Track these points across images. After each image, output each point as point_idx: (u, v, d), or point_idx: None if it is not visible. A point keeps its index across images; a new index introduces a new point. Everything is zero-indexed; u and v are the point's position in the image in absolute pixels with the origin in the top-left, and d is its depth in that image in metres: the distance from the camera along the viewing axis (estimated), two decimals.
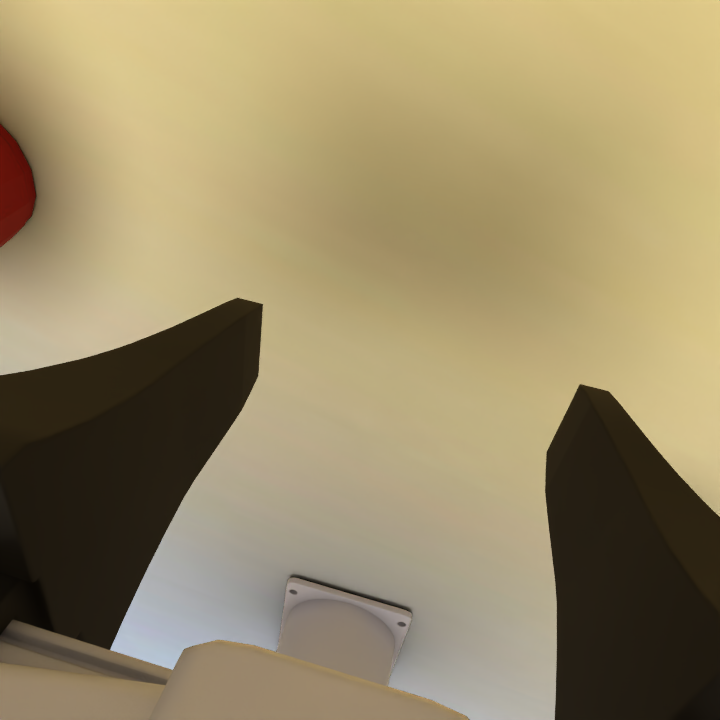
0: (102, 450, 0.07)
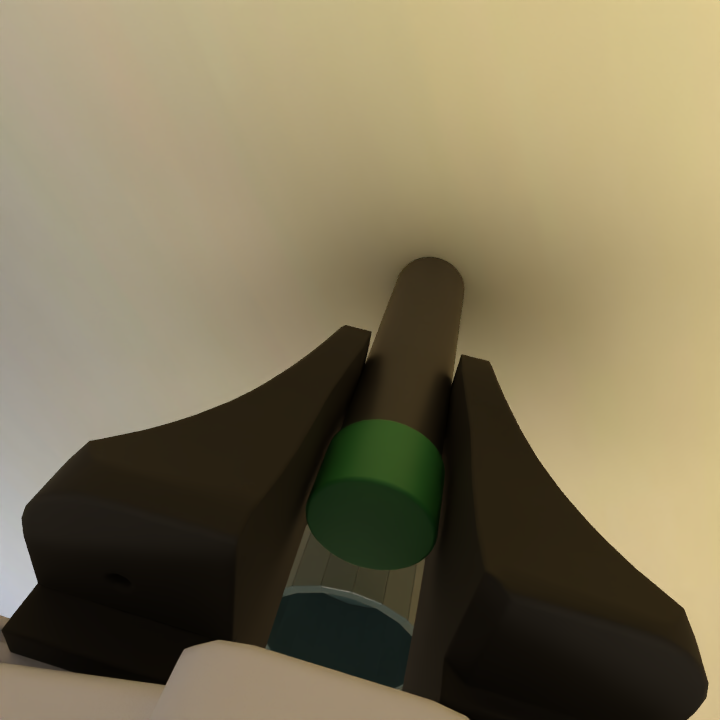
0: (280, 501, 0.07)
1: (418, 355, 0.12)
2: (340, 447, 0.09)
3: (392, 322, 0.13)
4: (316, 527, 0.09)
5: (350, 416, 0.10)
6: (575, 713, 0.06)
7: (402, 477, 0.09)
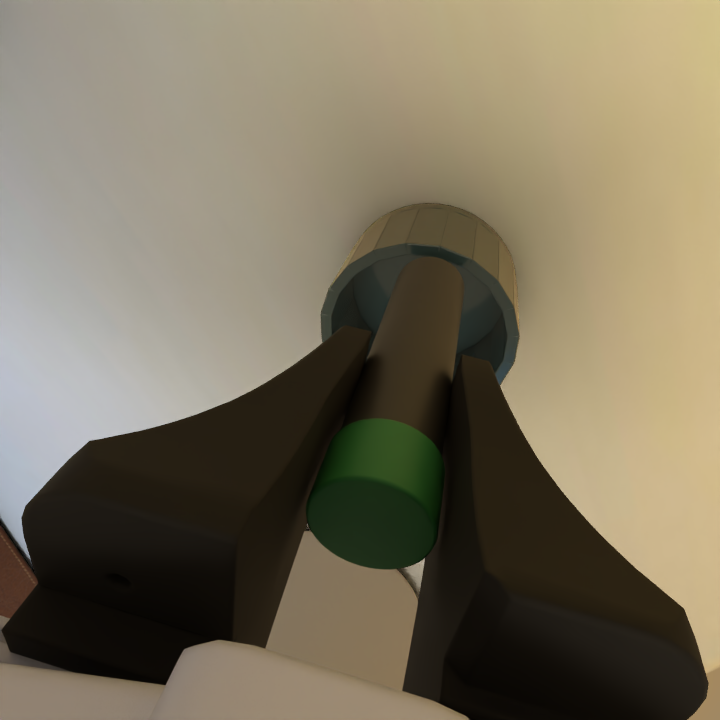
0: (280, 502, 0.07)
1: (419, 354, 0.12)
2: (340, 446, 0.09)
3: (392, 322, 0.13)
4: (316, 526, 0.09)
5: (350, 415, 0.10)
6: (575, 713, 0.06)
7: (402, 476, 0.09)
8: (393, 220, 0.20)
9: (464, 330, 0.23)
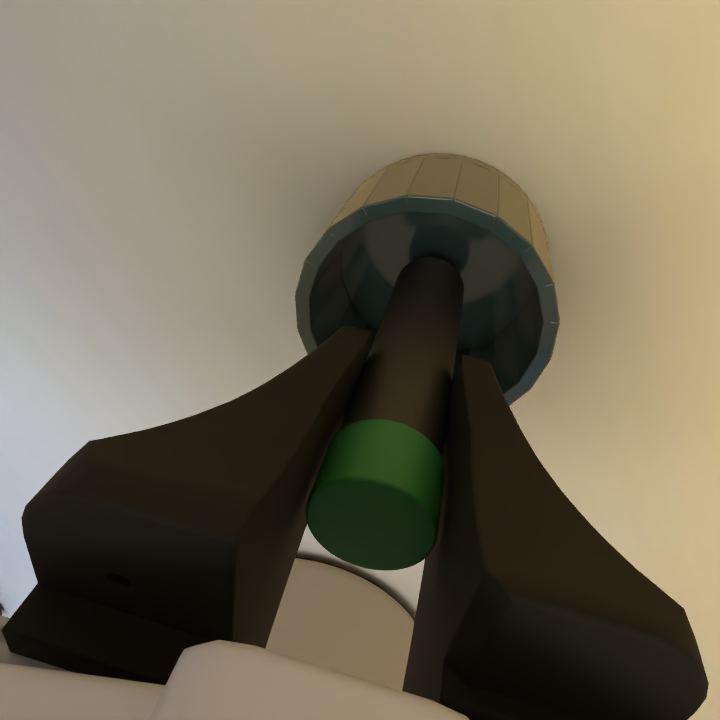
0: (280, 501, 0.07)
1: (419, 355, 0.12)
2: (340, 447, 0.09)
3: (392, 322, 0.13)
4: (316, 527, 0.09)
5: (350, 416, 0.10)
6: (575, 713, 0.06)
7: (402, 477, 0.09)
8: (390, 173, 0.15)
9: (480, 319, 0.18)
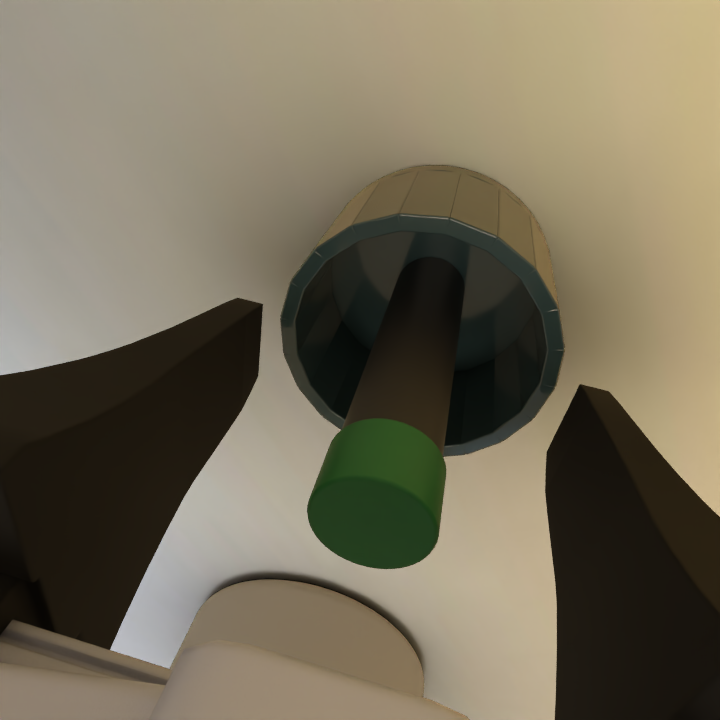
0: (102, 451, 0.07)
1: (420, 354, 0.12)
2: (342, 446, 0.09)
3: (392, 322, 0.13)
4: (318, 526, 0.09)
5: (351, 415, 0.10)
6: None
7: (404, 476, 0.09)
8: (382, 187, 0.14)
9: (479, 339, 0.17)
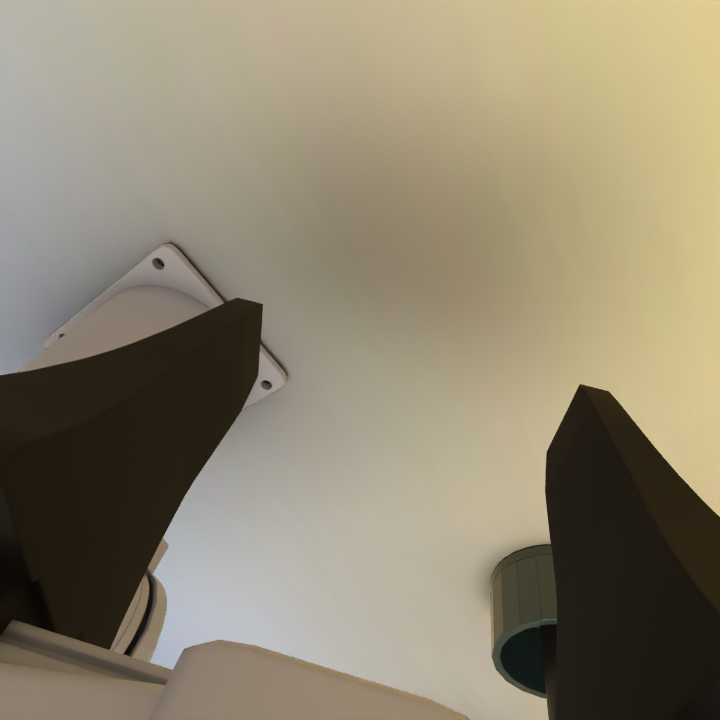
0: (102, 451, 0.07)
1: None
2: None
3: (556, 653, 0.26)
4: None
5: None
6: None
7: None
8: (541, 569, 0.27)
9: None
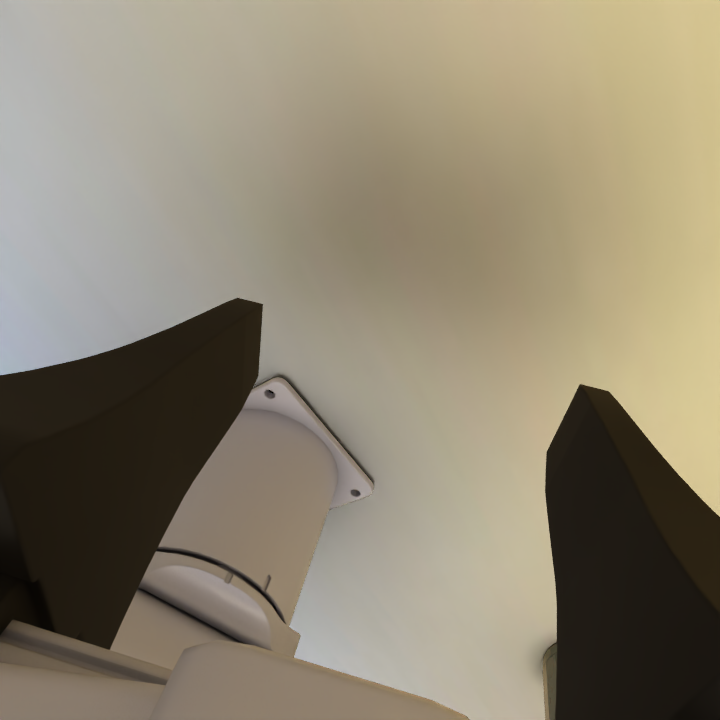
0: (102, 450, 0.07)
1: None
2: None
3: None
4: None
5: None
6: None
7: None
8: None
9: None
